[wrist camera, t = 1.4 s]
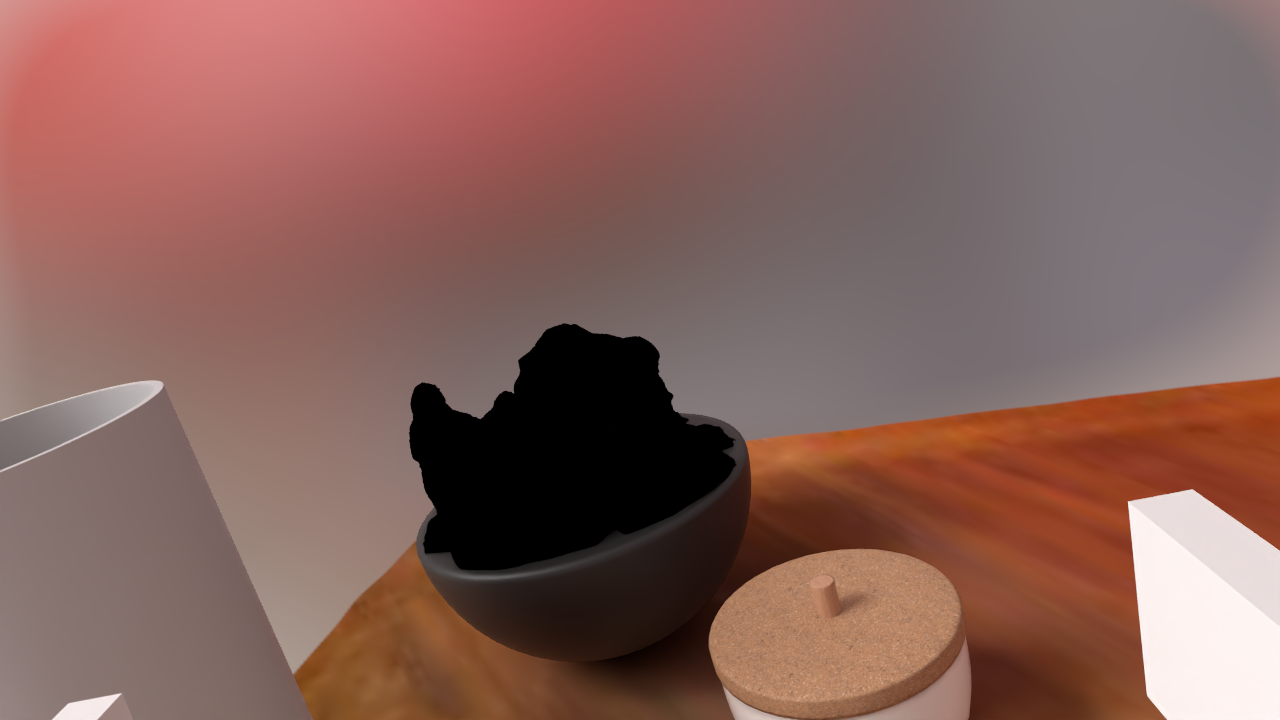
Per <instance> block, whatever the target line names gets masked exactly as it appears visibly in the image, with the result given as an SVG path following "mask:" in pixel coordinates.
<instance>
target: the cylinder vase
mask: <svg viewBox="0 0 1280 720" xmlns="http://www.w3.org/2000/svg"><path fill="white" fill-rule="evenodd" d="M120 693H122V694H123V697H124V699H125V701H126V704H127V706H128V709H129V711H130V713H131V716H132V718H133V720H313V719H312V716H311V714H310V712H309V710H308V707H307V705H306V703H305V701H304V698H303V696H302V694H301V692H300V689H299V687H298V685H297V683H296V680H295V678H294V676H293V674H292V671H291V669H290V667H289V665H288V663H287V660H286V658H285V656H284V654H283V651H282V649H281V647H280V645H279V643H278V640H277V638H276V636H275V633H274V631H273V629H272V627H271V625H270V622H269V620H268V618H267V615H266V613H265V611H264V609H263V606H262V605H261V602H260V600H259V597H258V595H257V593H256V591H255V589H254V586H253V584H252V582H251V580H250V577H249V575H248V573H247V571H246V568H245V566H244V564H243V562H242V559H241V557H240V555H239V553H238V551H237V548H236V546H235V544H234V541H233V539H232V537H231V535H230V533H229V530H228V528H227V526H226V524H225V521H224V519H223V517H222V515H221V513H220V510H219V508H218V506H217V503H216V501H215V499H214V497H213V494H212V492H211V490H210V488H209V485H208V483H207V481H206V479H205V476H204V474H203V472H202V470H201V468H200V465H199V463H198V461H197V459H196V456H195V454H194V452H193V450H192V447H191V445H190V443H189V441H188V438H187V436H186V434H185V432H184V429H183V427H182V425H181V423H180V421H179V418H178V416H177V414H176V412H175V409H174V407H173V405H172V402H171V400H170V398H169V396H168V394H167V391H166V389H165V387H164V385H163V383H162V382H160V381H141V382H134V383H128V384H123V385H118V386H114V387H109V388H105V389H101V390H98V391H93V392H90V393H86V394H82V395H79V396H75V397H72V398H68V399H65V400H62V401H58V402H55V403H52V404H48V405H45V406H42V407H39V408H36V409H33V410H30V411H27V412H24V413H21V414H18V415H15V416H12V417H9V418H6V419H3V420H0V720H52V719H53V718H54V717H55V716H56V715H57V714H58V713H59V712H60V711H61V710H62V709H63V708H64V707H65V706H66V705H67V704H68V703H73V702H78V701H83V700H89V699H94V698H99V697H104V696H110V695H115V694H120Z"/></svg>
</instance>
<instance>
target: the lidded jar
mask: <svg viewBox="0 0 1280 720" xmlns="http://www.w3.org/2000/svg"><path fill="white" fill-rule="evenodd" d="M965 631H966V622H965V616H964V611H963V606H962V601H961V597H960V595H959V593H958V591H957V589H956V587H955V586H954V585H953V584H952V582H951V581H950V580H949V579H948V578H947V577H946V576H945V575H944V574H942V573H941V572H940V571H939V570H937V569H936V568H935V567H933V566H931V565H929V564H927V563H926V562H924V561H922V560H919V559H916V558H914V557H911V556H909V555H905V554H900V553H896V552H891V551H884V550H877V549H843V550H835V551H827V552H821V553H817V554H812V555H807V556H804V557H800V558H797V559H794V560H791V561H788V562H785V563H783V564H780V565H778V566H775V567H773V568H771V569H769V570H767V571H765V572H763V573H761V574H759V575H758V576H756V577H755V578H753V579H751V580H750V581H748V582H746V583H745V584H744V585H743V586H742V587H740V588H739V589H738V590H737V591H735V592H734V593H733V594H732V595H731V596H730V597H729V598H728V599H727V600H726V601H725V603H724V604H723V606H722V607H721V608H720V610H719V611H718V613H717V615H716V617H715V619H714V621H713V623H712V626H711V630H710V634H709V651H710V654H711V658H712V661H713V665H714V668H715V671H716V674H717V676H718V678H719V679H720V681H721V682H722V685H723V688H724V692H725V695H726V698H727V701H728V704H729V707H730V709H731V712H732V715H733V717H734V719H735V720H968V719H969V713H970V701H971V686H972V685H971V665H970V659H969V652H968V646H967V641H966V636H965Z"/></svg>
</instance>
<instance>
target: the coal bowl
mask: <svg viewBox="0 0 1280 720" xmlns="http://www.w3.org/2000/svg"><path fill="white" fill-rule="evenodd" d="M659 358H660V355H659V352H658V350H657V349H656V348H655V347H654V345H652V343H650V342H649V341H647V340H645V339H643V338H642V337H640V336H639V337H637V336H634V337H626V338H621V337H616V336H612V335H609V334H594V333H591V332H589V331H587V330H585V329H583V328H581V327H580V326H578V325H576V324H573V325H569V324H562V325H558V326H554V327H552V328H550V329H547V330H546V331H545V332H544V333H543V335H542V336H541V338H539V340H538V341H537V343H536V344H535V346H534V347H533V348H532V350H531V351H530V352H528V353H527V354H526V355H524V356H523V357H522V358H521V359H519V360H518V363H519V367H520V375H519V377H518V378H517V380H516V382H515V384H514V394H513V393H512V392H508V391H504V392H502V393H501V394H499V395H498V397H497V398H496V400H495V401H494V406H493V408H492V409H491V410H490V411H489V412H488V413H486V414H485V415H484V417H483V418H481V419H478V418H477V417H472V416H471V415H470V414H467V413H462V412H459V411H456V410H452V409H451V408H450V406H448V404H446V402H445V401H446V400H445V398H444V396H443V394H442V393H441V392H440V391H439V390H440V389H439V388H437V387H436V386H435V385H432V384H428V383H423V382H422V383H421V384H419V385H417V386H416V387H415V389H414V391H413V394H412V398H411V410H412V413H413V421H412V424H411V425H410V432H409V435H410V440H409V442H410V449H411V454H412V457H413V459H414V460H416V461H417V462H419V464H420V468H421V470H422V477H423V483H424V489H425V491H426V493H427V495H428V497H429V498H430V500H431V501H432V503H433V505H434V508H433V509H432V511H431V512H430V513H429V514H428V516H427V517H426V519H425V520H424V522H423V523H422V525H421V528H420V530H419V532H418V536H417V544H416V545H417V553H418V557H419V559H420V561H421V563H422V566H423V568H424V570H425V571H426V573H427V575H428V577H429V579H430V580H431V582H432V583H433V585H434V586H435V588H436V589H437V590H438V592H439V593H440V594H441V595H442V597H443V598H444V599H445V600H446V602H447V603H448V604H449V605H450V606H451V607H452V608H453V609H454V610H455V611H456V612H457V613H458V614H459V615H460V616H461V617H462V618H463V619H465V620H466V621H467V622H468V623H469V624H471V625H472V626H473V627H474V628H476V629H477V630H478V631H480V632H481V633H483V634H484V635H486V636H488V637H489V638H491V639H493V640H494V641H496V642H498V643H500V644H502V645H504V646H506V647H509V648H511V649H513V650H516V651H518V652H522V653H525V654H528V655H531V656H535V657H539V658H544V659H551V660H557V661H567V662H583V661H598V660H605V659H610V658H615V657H619V656H623V655H626V654H629V653H632V652H635V651H638V650H640V649H643V648H645V647H647V646H650V645H652V644H654V643H656V642H658V641H660V640H661V639H663V638H665V637H667V636H668V635H670V634H671V633H673V632H674V631H676V630H677V629H678V628H680V627H681V626H682V625H683V624H685V623H686V622H687V621H689V620H690V619H691V618H692V617H693V616H694V615H695V614H696V613H697V612H698V611H699V610H700V609H701V608H702V607H703V606H704V605H705V604H706V603H707V602H708V601H709V599H710V598H711V597H712V596H713V595H714V593H715V592H716V591H717V589H718V588H719V586H720V585H721V583H722V582H723V580H724V579H725V577H726V575H727V574H728V572H729V570H730V568H731V566H732V564H733V562H734V560H735V558H736V556H737V553H738V551H739V548H740V545H741V542H742V539H743V536H744V533H745V529H746V524H747V520H748V514H749V506H750V498H751V472H750V462H749V454H748V449H747V446H746V443H745V441H744V439H743V437H742V436H741V434H740V433H739V432H738V431H737V430H736V429H735V428H734V427H733V426H731V425H729V424H728V423H725V422H724V421H721V420H718V419H715V418H712V417H708V416H703V415H695V414H683V413H678V412H675V411H674V410H673V406H672V404H671V400H672V398H673V394H672V393H670V392H668V390H667V389H666V387H665V383H664V382H663V380H662V379H661V377H659V375H658V373H659V370H658V365H659V364H658V361H659Z"/></svg>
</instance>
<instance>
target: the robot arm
mask: <svg viewBox="0 0 1280 720" xmlns="http://www.w3.org/2000/svg"><path fill="white" fill-rule="evenodd" d="M1128 506H1129V517H1130V527H1131V537H1132V547H1133V558H1134V568H1135V578H1136V588H1137V599H1138V609H1139V619H1140V629H1141V640H1142V650H1143V660H1144V670H1145V681H1146V691H1147V696H1148V697H1149V699H1150V700H1151V701H1152V702H1153V703H1154V705H1155V706H1156V707H1157V708H1158V709H1159V711H1160V712H1161V713H1162V714H1163V715H1164V717H1165V718H1166V719H1167V720H1280V551H1279V550H1278V549H1277V548H1275V547H1274V546H1272V545H1271V544H1269V543H1268V542H1267V541H1265V540H1264V539H1262V538H1261V537H1259V536H1258V535H1257V534H1255V533H1254V532H1252V531H1251V530H1250V529H1248V528H1247V527H1245V526H1244V525H1242V524H1241V523H1240V522H1238V521H1237V520H1235V519H1234V518H1232V517H1231V516H1230V515H1228V514H1227V513H1225V512H1224V511H1222V510H1221V509H1220V508H1218V507H1217V506H1215V505H1214V504H1212V503H1211V502H1210V501H1208V500H1207V499H1205V498H1204V497H1202V496H1201V495H1200V494H1198V493H1197V492H1195V491H1194V490H1193V489H1192V490H1187V491H1182V492H1176V493H1171V494H1166V495H1161V496H1155V497H1150V498H1145V499H1140V500H1134V501H1129V502H1128ZM52 720H133V718H132V716H131V713H130V711H129V709H128V706H127V704H126V701H125V699H124V697H123V694H122V693H120V694H115V695H110V696H104V697H99V698H94V699H89V700H83V701H78V702H73V703H68V704H67V705H66V706H65V707H64V708H63V709H62V710H61V711H60V712H59V713H58V714H57V715H56V716H55V717H54V718H53V719H52Z"/></svg>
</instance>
